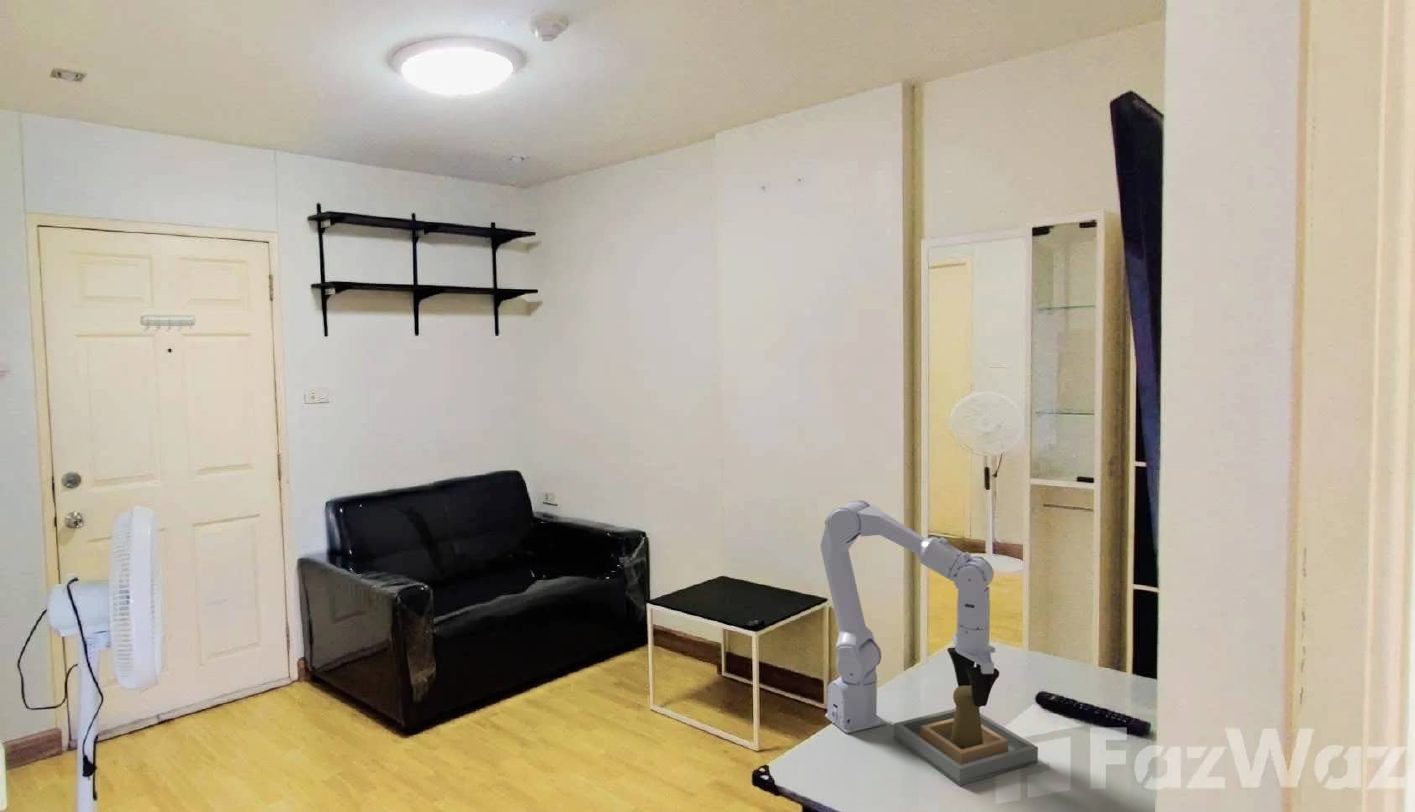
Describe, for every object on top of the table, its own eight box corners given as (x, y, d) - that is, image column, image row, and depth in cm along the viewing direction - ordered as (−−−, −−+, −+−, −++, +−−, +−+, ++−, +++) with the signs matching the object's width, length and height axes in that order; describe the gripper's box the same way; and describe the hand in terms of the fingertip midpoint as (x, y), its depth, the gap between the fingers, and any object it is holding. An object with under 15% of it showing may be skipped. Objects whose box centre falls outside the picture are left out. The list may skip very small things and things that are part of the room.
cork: (943, 739, 148) (944, 683, 147) (972, 736, 149) (974, 680, 148) (960, 755, 142) (961, 697, 141) (990, 752, 143) (991, 694, 142)
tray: (959, 786, 134) (959, 767, 133) (894, 738, 150) (894, 721, 150) (1037, 763, 141) (1037, 745, 141) (967, 720, 157) (967, 704, 157)
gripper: (1011, 638, 137) (1009, 713, 138) (979, 610, 151) (977, 678, 152) (971, 639, 136) (970, 714, 137) (943, 611, 151) (942, 679, 152)
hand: (971, 696), depth 145 cm, fingers open, 7 cm apart
